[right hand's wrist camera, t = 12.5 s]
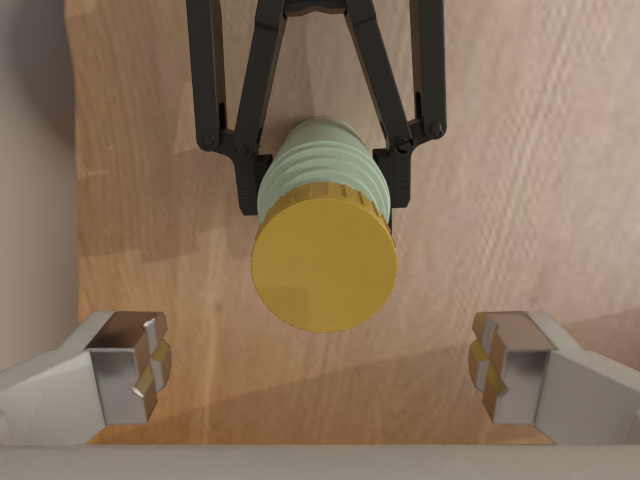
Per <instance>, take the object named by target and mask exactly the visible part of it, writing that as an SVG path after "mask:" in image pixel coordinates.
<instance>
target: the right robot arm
mask: <svg viewBox="0 0 640 480" xmlns="http://www.w3.org/2000/svg"><path fill="white" fill-rule="evenodd" d="M167 330H168V327H167V322H166V316H165V315H164V314H163V312H145V311H95V312H92V313H91V314H90V315H89V316H88V317H87V318H86V319H85V320H84V321H83V322H82V324H81V325H80V326H79V327H78V328H77V329H76V330H75V331H74V332H73V333H72V334H71V335H70V336H69V337H68V338H67V339H66V340H65V342H64V343H63V344H62V345H61V346H60V347H59V348H58V349H57V350H48V351H46V352H44V353H42V354H39V355H37V356H35V357H33V358H30V359H28V360H26V361H24V362H21V363H19V364H17V365H15V366H12V367H10V368H8V369H5V370H3V371H1V372H0V480H640V372H639V371H637V370H635V369H632V368H630V367H628V366H626V365H623V364H621V363H619V362H616V361H614V360H612V359H610V358H607V357H605V356H603V355H601V354H598V353H596V352H594V351H592V350H583V349H582V348H581V347H580V346H579V345H578V344H577V343H576V341H575V340H574V339H573V338H572V337H571V336H570V335H569V334H568V333H567V332H566V331H565V330H564V329H563V328H562V327H561V326H560V325H559V323H558V322H557V321H556V320H555V319H554V318H553V317H552V316H551V315H550V314H549V313H548V312H546V311H543V310H542V311H505V312H478V313H476V315H475V317H474V321H473V327H472V330H473V331H474V333H475V335H476V337H477V339H476V340H475V341H474V342H473V343H472V344H471V345H470V349H469V371H470V375H471V379H472V381H473V383H474V386H475V388H477V389H478V390H480V391H481V392H483V400H482V402H483V404H484V406H485V408H486V410H487V412H488V414H489V416H490V418H491V420H492V422H493V424H512V425H535V426H534V427H535V428H536V429H538V430H539V431H540V432H541V433H543V434H544V435H545V436H546V437H548V438H549V439H550V440H551V441H553V442H554V443H555V444H85V443H86V442H88V441H89V440H90V439H91V438H93V437H94V436H95V435H96V434H98V433H99V432H100V431H101V430H103V429H104V428H105V425H128V424H147V422H148V420H149V418H150V416H151V414H152V412H153V410H154V408H155V406H156V404H157V402H158V400H157V392H159V391H160V390H162V389H163V388H165V386H166V383H167V381H168V379H169V375H170V370H171V349H170V345H169V344H168V343H167V342H166V341H165V340H164V339H163V337H164V335H165V333H166V331H167Z"/></svg>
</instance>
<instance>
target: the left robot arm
mask: <svg viewBox="0 0 640 480" xmlns="http://www.w3.org/2000/svg"><path fill="white" fill-rule="evenodd" d="M409 4H410V24H411V45H412V65H413V85H414V105H415V119H413V120H411V121H408V122H407V119H406V116H405V112H404V109H403V106H402V103H401V99H400V96H399V93H398V89H397V86H396V83H395V79H394V76H393V73H392V70H391V66H390V63H389V60H388V56H387V53H386V50H385V47H384V43H383V40H382V37H381V33H380V30H379V27H378V24H377V20H376V13H375V9H374V5H373V2H372V0H258V5H257V10H256V15H255V28H254V34H253V39H252V44H251V49H250V55H249V60H248V65H247V70H246V75H245V80H244V86H243V91H242V96H241V101H240V106H239V111H238V117H237V122H236V127H235V131H233V130H230V129H227V112H226V93H225V73H224V54H223V35H222V15H221V6H220V1H219V0H186V6H187V19H188V32H189V46H190V59H191V72H192V86H193V99H194V112H195V126H196V139H197V144H198V146H199V147H200V148H201V149H202V150H204V151H208V152H209V151H213V152H217V153H220V154H223V155H226V156H228V157H229V158H230V159H231V160H232V161H233V163H234V166H235V172H236V181H237V190H238V197H239V207H240V209H241V211H242V213H243V215H244V216H245V215H258V211H257V199H258V192H259V188H260V185H261V182H262V180H263V178H264V176H265V174H266V172H267V170H268V169H269V167H270V165H271V164H272V162H273V158H272V154H269V155H259V152H258V149H259V148H260V140H261V135H262V131H263V126H264V121H265V117H266V112H267V107H268V102H269V98H270V93H271V88H272V84H273V79H274V74H275V70H276V65H277V60H278V56H279V51H280V46H281V42H282V38H283V35H284V31H285V27H286V23H287V18H288V17H292V16H302V15H305V14H308V13H310V12H313V11H318V12H323V13H327V14H344V17H345V20H346V23H347V26H348V29H349V31H350V34H351V36H352V39H353V43H354V46H355V49H356V52H357V55H358V58H359V61H360V64H361V67H362V70H363V73H364V76H365V79H366V83H367V86H368V89H369V92H370V95H371V98H372V101H373V104H374V107H375V110H376V113H377V116H378V120H379V123H380V126H381V129H382V132H383V135H384V138H385V141H386V149H385V148H384V149H373V159H374V161H375V163H376V164H377V166H378V168H379V169H380V171H381V173H382V174H383V176H384V178H385V180H386V183H387V186H388V189H389V195H390V215H389V221H388V227H389V229H390V233H391V236H392V208H404V207H407V205H408V203H409V201H410V181H411V154H412V152H413V150H414V149H415V148H416V147H417V146H418V145H420V144H422V143H425V142H427V141H430V140H432V139H435V140H436V139H439V138H441V137H442V136H443V135H444V134H445V132H446V129H447V116H446V78H445V41H444V3H443V0H410V3H409ZM259 224H260V223H259Z"/></svg>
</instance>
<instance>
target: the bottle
mask: <svg viewBox="0 0 640 480" xmlns="http://www.w3.org/2000/svg"><path fill="white" fill-rule="evenodd" d="M327 180H328V181H330V182H334V183H340V184H343V185H344V183H345V184H347V186H349V187H351V188H353V189H356V190H357V191H362V194H364V195H365V196H366V197H367V198H368V199H370V200H371V202H372V201H374V202H375V205H376V207H377V209H378V210H379V212H380V213H381V214H383V215H384V217H385V220H386V222H387V224H388V221H389V215H390V195H389V189H388V186H387V183H386V180H385V178H384V176H383V174H382V173H381V171H380V169H379V168H378V166H377V164H376V163H375V161H374V159H373V158H372V156H371V154H370V153H369V151H368V149H367V148H366V146H365V145H364V143H363V141H362V140H361V138H360V136H359V135H358V133H357V132H356V131H355V130H354V129H353V128H352V127H351V126H350V125H348V124H347V123H345V122H344V121H342V120H340V119H337V118H333V117H327V116H320V117H314V118H310V119H307V120H305V121H303V122H301V123H300V124H298V125H297V126H296V127H295V128H294V129H293V130H292V131H291V132H290V133H289V134H288V136H287V138H286V139H285V141H284V143H283V145H282V146H281V148H280V150H279V151H278V153H277V155H276V157H275V158H274V160H273V162H272V164H271V165H270V167H269V169H268V170H267V172H266V174H265V176H264V178H263V180H262V182H261V185H260V188H259V192H258V199H257V211H258V217H259V223H260V225H261V223H262V222H263V221H264V219H265V216H266V214H267V212H268V209H269V208H272V206H273V205H274V204H275V203H276V202H277V201H278V200H279V197H280V196H283V195H285V194H286V193H288V192H289V191H291V190H293V188H294V187H296V188H297V187H299V186H302V185H305V184H309V183H310V182H312V183H314V182H327Z"/></svg>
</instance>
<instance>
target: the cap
mask: <svg viewBox="0 0 640 480" xmlns="http://www.w3.org/2000/svg"><path fill="white" fill-rule="evenodd" d="M255 240H256V242H255V245H254V249H253V252H252V254H251V257H252V259H251V272H252V278H253V282H254V285H255V288H256V291H257V293H258V295H259V297H260V298H261V300H262V301H263V303H264V304H265V305H266V306H267V308H268V309H269V310H270V311H271V312H272V313H273V314H274V315H275V316H277V317H278V318H279V319H281V320H282V321H284V322H286V323H288V324H289V325H291V326H294V327H296V328H299V329H302V330H306V331H311V332H319V333H329V332H338V331H343V330H346V329H350V328H353V327H355V326H357V325H359V324H361V323H363V322H365V321H366V320H368V319H369V318H370V317H372V316H373V315H374V314H376V312H377V311H378V310H379V309H380V308H381V307H382V306H383V305H384V303H385V302H386V301H387V299H388V298H389V296H390V294H391V292H392V290H393V287H394V285H395V281H396V277H397V268H398V265H397V254H396V249H395V248H396V245H395V243H394V240H393V238H392V236H391V233H390V229H389V227H388V224H387V222H386V220H385V217H384V215H383V214H381V213H380V212H379V210H378V209H377V207H376V205H375V202H374V201H372V202H371V200H370V199H368V198H367V197H366V196H365V195H364V194H362V191H357V190H356V189H353V188H351V187H349V186H347V184H345V183H344V185H343V184H340V183H334V182H330V181H328V180H327V182H314V183H312V182H310V183H309V184H305V185H302V186H299V187H297V188H296V187H294V188H293V190H291V191H289V192H288V193H286V194H285V195H283V196H280V197H279V200H278V201H277V202H276V203H275V204H274V205H273V206H272V208H269V209H268V212H267V214H266V216H265V219H264V221H263V222H262V223H261V225H260V227H259V230H258V232H257V235H256V237H255Z"/></svg>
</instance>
